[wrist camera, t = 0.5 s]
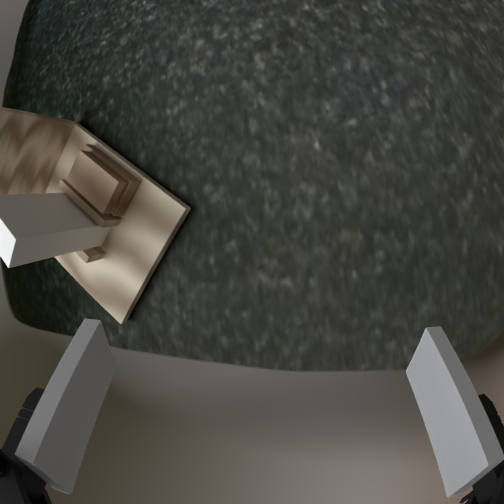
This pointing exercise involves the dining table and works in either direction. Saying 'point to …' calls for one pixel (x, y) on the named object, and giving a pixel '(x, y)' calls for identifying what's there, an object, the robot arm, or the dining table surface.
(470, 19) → the dining table surface
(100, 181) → the walnut offcuts
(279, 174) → the dining table surface
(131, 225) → the maple rack
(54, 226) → the white block
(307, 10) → the dining table surface
